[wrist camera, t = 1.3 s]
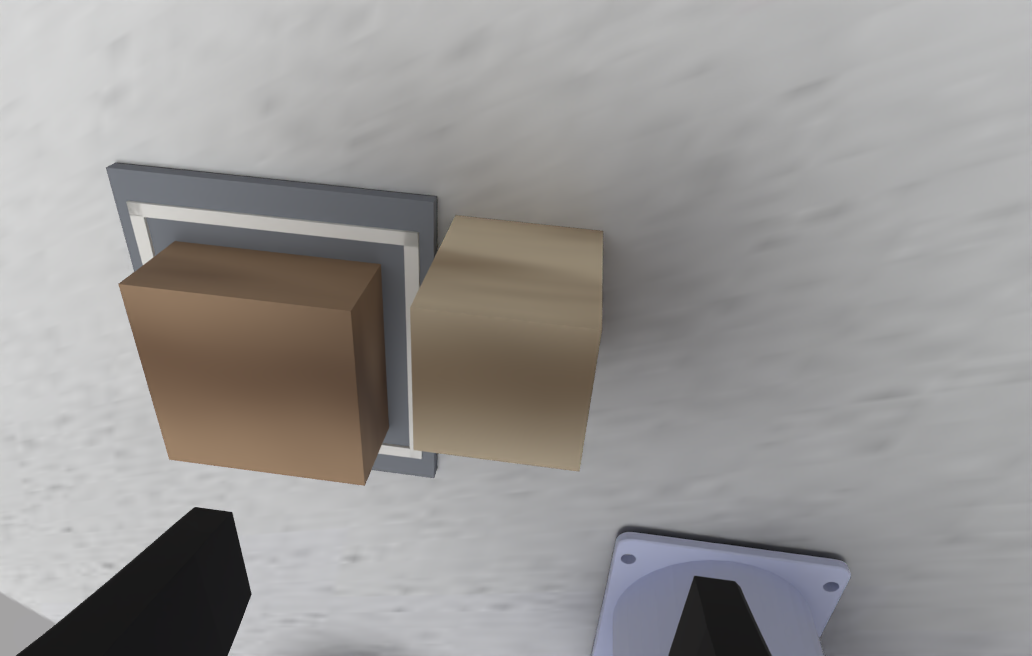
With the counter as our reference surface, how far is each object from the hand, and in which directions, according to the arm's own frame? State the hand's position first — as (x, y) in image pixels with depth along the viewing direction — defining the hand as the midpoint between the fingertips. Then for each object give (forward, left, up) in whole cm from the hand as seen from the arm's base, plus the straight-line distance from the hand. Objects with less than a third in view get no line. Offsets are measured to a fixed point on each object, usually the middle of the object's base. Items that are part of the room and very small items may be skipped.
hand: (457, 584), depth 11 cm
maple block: (0, 0, -10) cm, 10 cm away
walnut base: (-3, +7, -10) cm, 12 cm away
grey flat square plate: (-3, +7, -10) cm, 13 cm away
